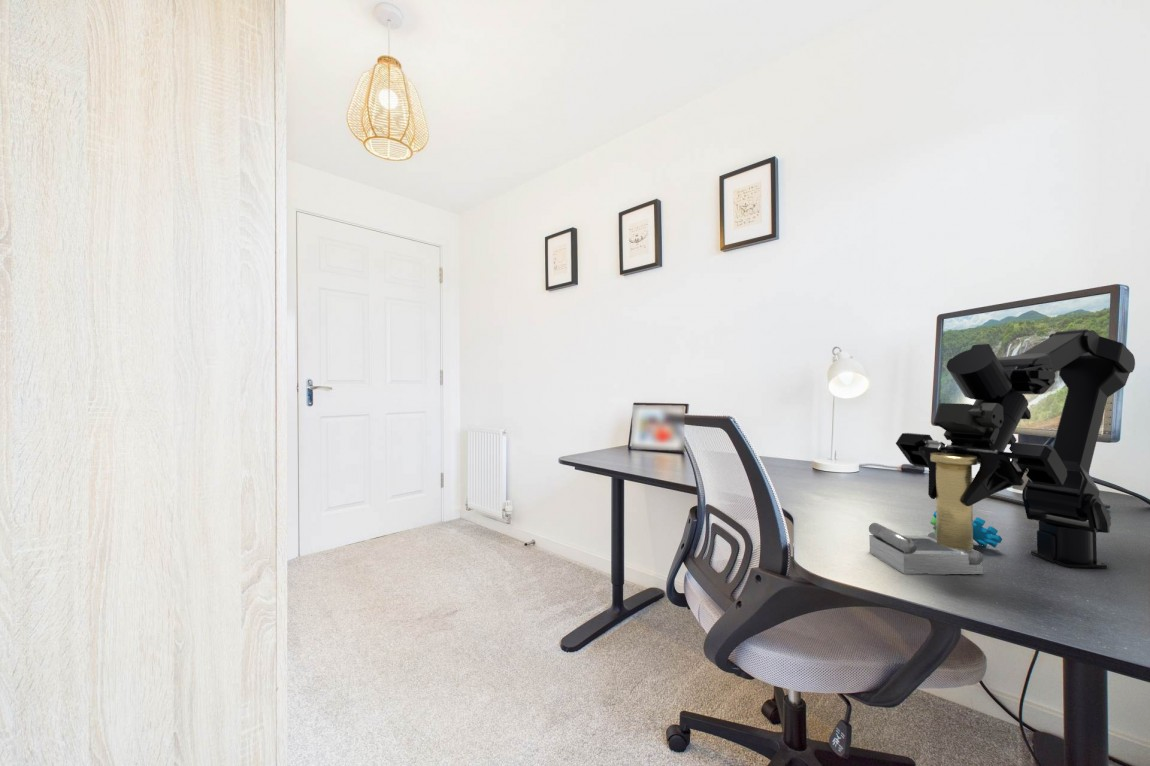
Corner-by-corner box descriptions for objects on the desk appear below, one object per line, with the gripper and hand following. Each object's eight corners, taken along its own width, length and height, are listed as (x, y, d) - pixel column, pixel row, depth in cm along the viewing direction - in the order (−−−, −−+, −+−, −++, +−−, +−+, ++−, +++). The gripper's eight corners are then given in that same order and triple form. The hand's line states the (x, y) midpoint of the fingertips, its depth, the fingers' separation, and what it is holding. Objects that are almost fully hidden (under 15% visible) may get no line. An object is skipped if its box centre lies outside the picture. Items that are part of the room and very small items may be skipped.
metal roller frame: (940, 553, 79) (939, 523, 79) (983, 575, 70) (982, 540, 70) (869, 552, 80) (868, 522, 80) (903, 573, 71) (902, 539, 71)
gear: (1017, 546, 78) (977, 507, 78) (1002, 573, 77) (962, 533, 77) (954, 534, 89) (919, 500, 89) (940, 558, 88) (904, 523, 88)
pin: (959, 539, 67) (957, 452, 67) (989, 551, 62) (987, 458, 62) (922, 538, 67) (921, 452, 67) (949, 551, 62) (948, 458, 62)
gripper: (902, 384, 75) (857, 454, 71) (1053, 383, 58) (1006, 475, 53) (932, 429, 78) (891, 499, 74) (1086, 441, 60) (1043, 533, 56)
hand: (947, 500), depth 64 cm, fingers closed on pin, 4 cm apart
